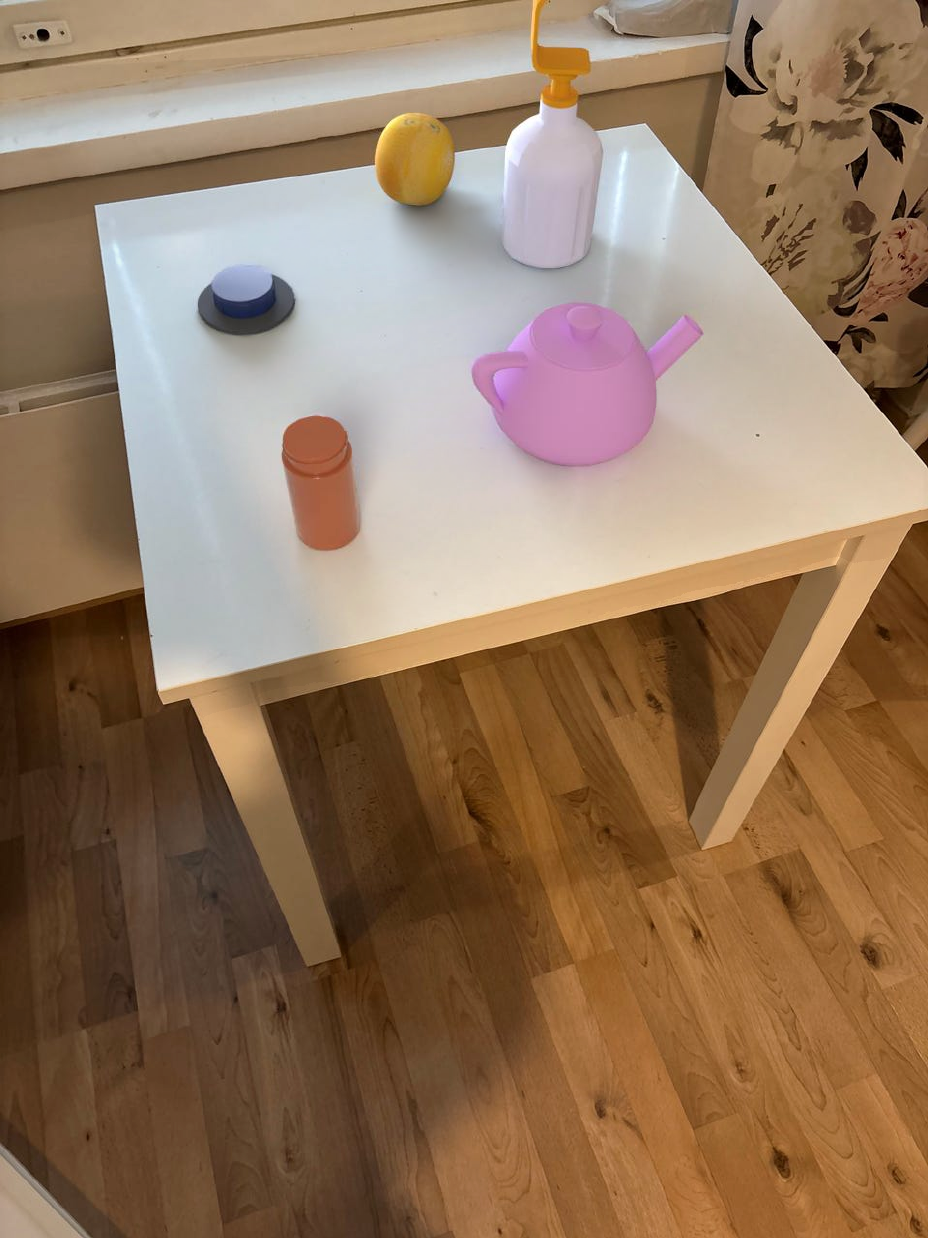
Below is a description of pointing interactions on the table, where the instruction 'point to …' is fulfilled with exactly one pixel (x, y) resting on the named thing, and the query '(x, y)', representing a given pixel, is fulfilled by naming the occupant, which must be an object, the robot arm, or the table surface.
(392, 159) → the fruit
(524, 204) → the soap bottle
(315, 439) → the jar
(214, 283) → the lid
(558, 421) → the teapot
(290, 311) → the coaster
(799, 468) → the table surface
